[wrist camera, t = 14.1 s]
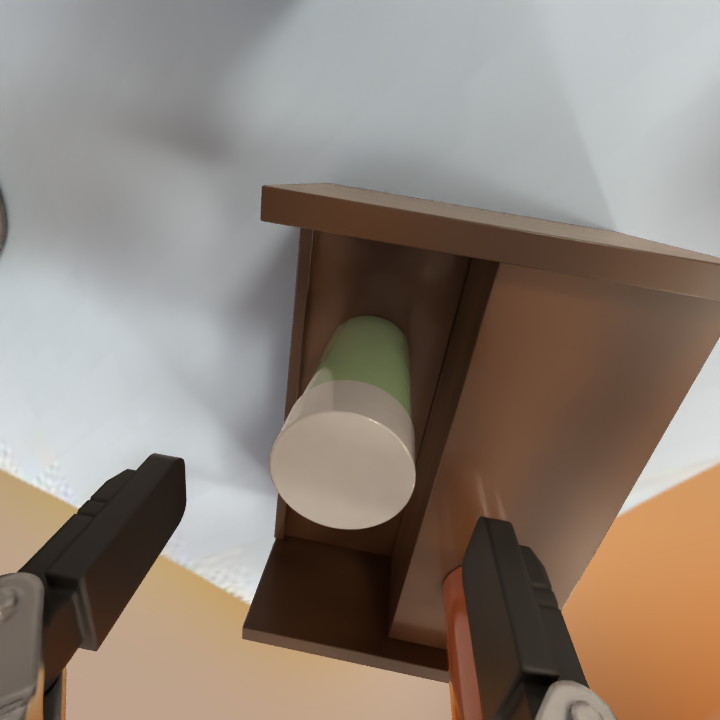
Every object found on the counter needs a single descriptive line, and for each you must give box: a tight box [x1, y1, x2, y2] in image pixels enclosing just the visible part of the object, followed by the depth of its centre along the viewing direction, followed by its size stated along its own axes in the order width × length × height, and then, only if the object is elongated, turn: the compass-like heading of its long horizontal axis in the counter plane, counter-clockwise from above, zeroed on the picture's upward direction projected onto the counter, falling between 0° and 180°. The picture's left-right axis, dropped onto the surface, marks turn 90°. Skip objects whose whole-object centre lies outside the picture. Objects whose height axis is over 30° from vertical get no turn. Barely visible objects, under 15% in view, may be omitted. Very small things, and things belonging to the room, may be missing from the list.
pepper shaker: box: [442, 566, 483, 720], centre depth 15 cm, size 4×4×8 cm
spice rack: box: [242, 183, 720, 683], centre depth 21 cm, size 15×22×10 cm
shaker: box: [270, 316, 416, 530], centre depth 16 cm, size 4×4×9 cm
